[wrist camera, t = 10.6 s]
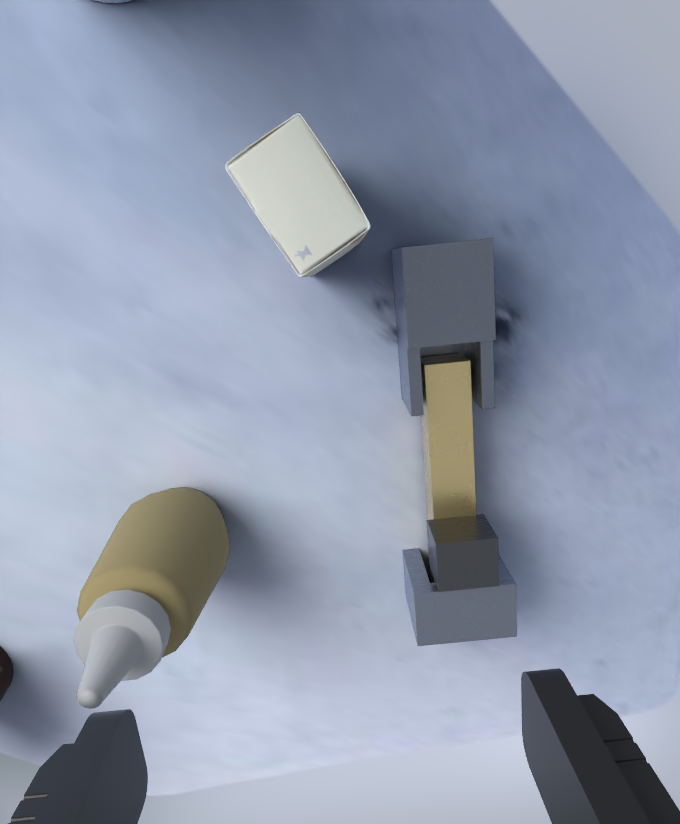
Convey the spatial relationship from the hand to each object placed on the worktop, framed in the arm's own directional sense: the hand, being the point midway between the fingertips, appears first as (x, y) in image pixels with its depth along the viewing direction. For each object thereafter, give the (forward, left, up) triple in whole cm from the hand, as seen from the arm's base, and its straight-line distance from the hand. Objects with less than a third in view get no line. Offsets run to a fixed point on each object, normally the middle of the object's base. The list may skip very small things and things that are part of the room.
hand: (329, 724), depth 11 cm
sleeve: (-4, +8, -30) cm, 31 cm away
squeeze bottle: (+9, -12, -30) cm, 34 cm away
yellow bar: (+7, +8, -30) cm, 32 cm away
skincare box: (-12, 0, -30) cm, 33 cm away
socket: (+15, +8, -30) cm, 35 cm away
